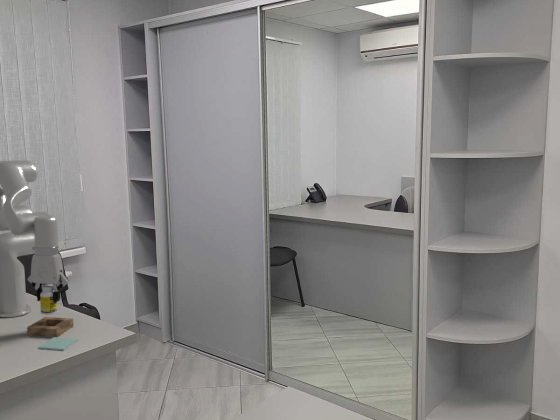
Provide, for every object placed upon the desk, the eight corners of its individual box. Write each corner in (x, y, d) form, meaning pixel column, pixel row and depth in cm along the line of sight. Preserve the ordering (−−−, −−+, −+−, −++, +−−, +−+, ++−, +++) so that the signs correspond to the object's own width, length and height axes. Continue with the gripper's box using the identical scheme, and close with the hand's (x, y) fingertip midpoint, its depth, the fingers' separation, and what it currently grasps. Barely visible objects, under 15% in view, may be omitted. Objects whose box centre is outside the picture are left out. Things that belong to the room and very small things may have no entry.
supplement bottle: (51, 315, 192) (50, 288, 190) (37, 314, 193) (36, 287, 191) (60, 310, 197) (59, 284, 195) (47, 309, 198) (45, 283, 197)
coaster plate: (38, 348, 179) (38, 347, 179) (53, 338, 188) (53, 337, 188) (63, 350, 178) (63, 349, 178) (78, 340, 187) (78, 338, 187)
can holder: (27, 335, 191) (27, 327, 190) (45, 324, 202) (45, 316, 201) (56, 337, 189) (56, 329, 189) (73, 326, 200) (73, 318, 199)
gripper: (17, 251, 189) (20, 302, 192) (63, 254, 186) (65, 306, 189) (30, 247, 196) (32, 295, 199) (75, 250, 194) (76, 299, 197)
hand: (48, 300), depth 194 cm, fingers closed on supplement bottle, 5 cm apart
